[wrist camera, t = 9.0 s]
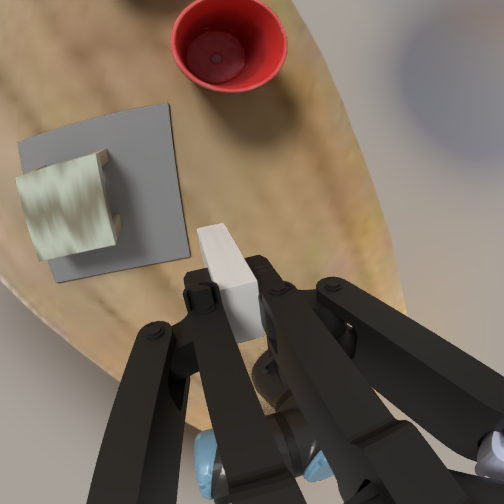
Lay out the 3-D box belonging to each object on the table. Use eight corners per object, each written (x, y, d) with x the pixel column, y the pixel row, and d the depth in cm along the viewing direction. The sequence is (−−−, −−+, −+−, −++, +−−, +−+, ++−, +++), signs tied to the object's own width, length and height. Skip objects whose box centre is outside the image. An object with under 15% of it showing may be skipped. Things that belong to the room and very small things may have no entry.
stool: (115, 244, 31) (39, 261, 29) (121, 226, 36) (53, 241, 34) (95, 154, 26) (15, 177, 24) (106, 148, 31) (35, 168, 29)
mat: (189, 255, 41) (190, 256, 40) (56, 281, 36) (55, 282, 36) (168, 102, 32) (168, 102, 31) (18, 142, 27) (17, 142, 27)
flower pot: (225, 116, 34) (245, 116, 26) (151, 69, 29) (146, 52, 21) (274, 53, 32) (308, 37, 24) (205, 5, 27) (219, -26, 19)
